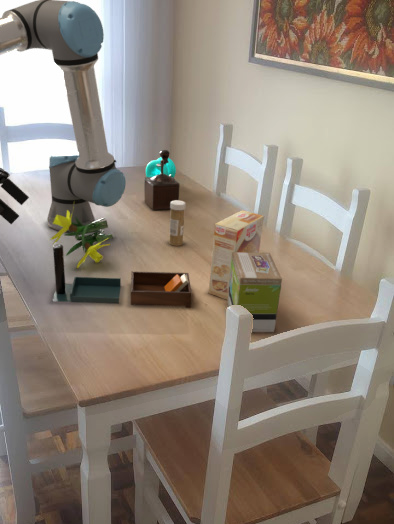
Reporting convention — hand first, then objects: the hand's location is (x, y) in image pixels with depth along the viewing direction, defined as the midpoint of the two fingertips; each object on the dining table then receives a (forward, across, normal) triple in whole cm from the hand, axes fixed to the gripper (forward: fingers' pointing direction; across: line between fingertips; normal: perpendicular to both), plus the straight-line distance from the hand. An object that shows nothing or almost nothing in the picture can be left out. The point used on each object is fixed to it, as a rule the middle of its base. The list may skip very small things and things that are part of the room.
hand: (20, 210), depth 137 cm
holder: (+39, +2, +9) cm, 40 cm away
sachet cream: (+40, +1, +15) cm, 43 cm away
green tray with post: (+26, +3, -4) cm, 26 cm away
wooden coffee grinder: (+41, -75, +10) cm, 86 cm away
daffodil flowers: (+24, -24, -6) cm, 34 cm away
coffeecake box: (+53, -4, +23) cm, 58 cm away
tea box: (+55, +13, +25) cm, 61 cm away
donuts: (+42, -101, +11) cm, 109 cm away
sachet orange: (+40, +1, +14) cm, 42 cm away
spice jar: (+43, -35, +13) cm, 57 cm away
